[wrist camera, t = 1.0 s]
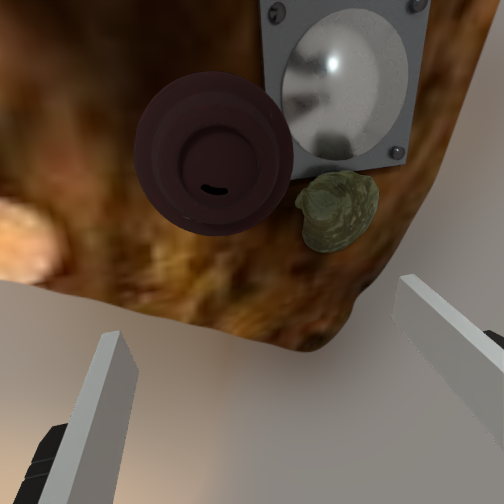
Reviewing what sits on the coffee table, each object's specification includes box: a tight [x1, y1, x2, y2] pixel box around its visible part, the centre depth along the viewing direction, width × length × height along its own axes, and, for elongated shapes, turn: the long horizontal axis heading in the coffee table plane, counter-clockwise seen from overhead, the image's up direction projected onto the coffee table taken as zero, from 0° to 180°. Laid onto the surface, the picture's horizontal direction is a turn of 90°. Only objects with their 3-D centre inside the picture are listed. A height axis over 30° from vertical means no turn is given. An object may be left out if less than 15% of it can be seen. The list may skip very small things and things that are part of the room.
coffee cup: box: [134, 71, 294, 236], centre depth 23 cm, size 10×10×15 cm
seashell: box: [295, 170, 379, 253], centre depth 34 cm, size 10×7×10 cm
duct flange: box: [258, 0, 431, 180], centre depth 29 cm, size 16×16×2 cm
